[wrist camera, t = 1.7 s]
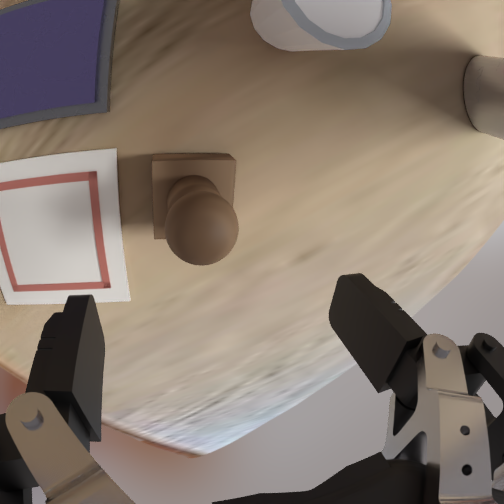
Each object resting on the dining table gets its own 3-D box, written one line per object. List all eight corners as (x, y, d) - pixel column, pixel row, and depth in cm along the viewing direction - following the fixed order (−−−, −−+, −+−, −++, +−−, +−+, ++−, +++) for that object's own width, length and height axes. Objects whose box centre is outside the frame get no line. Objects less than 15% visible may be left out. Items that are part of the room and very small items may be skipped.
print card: (116, 147, 18) (115, 149, 18) (130, 298, 24) (130, 301, 23) (-26, 168, 15) (-28, 169, 14) (8, 302, 20) (6, 305, 20)
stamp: (227, 152, 20) (267, 189, 13) (223, 219, 23) (256, 287, 15) (153, 153, 19) (146, 191, 12) (154, 222, 21) (153, 295, 14)
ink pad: (121, -13, 13) (118, -21, 11) (109, 111, 17) (105, 112, 15) (-16, 20, 9) (-26, 17, 8) (-24, 134, 14) (-35, 138, 12)
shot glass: (267, 73, 18) (314, 66, 12) (223, -8, 15) (252, -49, 9) (346, 44, 18) (409, 36, 12) (308, -31, 15) (361, -63, 9)
